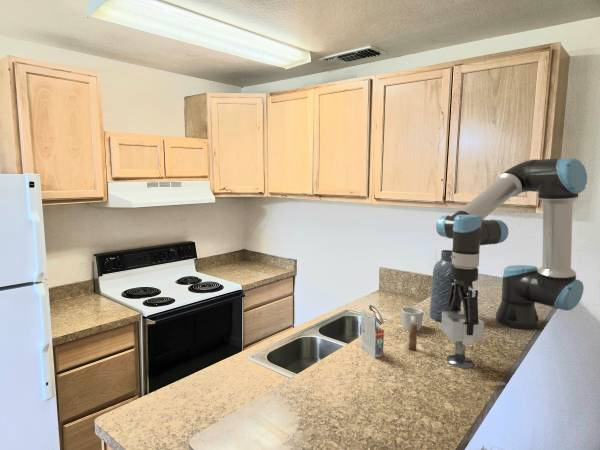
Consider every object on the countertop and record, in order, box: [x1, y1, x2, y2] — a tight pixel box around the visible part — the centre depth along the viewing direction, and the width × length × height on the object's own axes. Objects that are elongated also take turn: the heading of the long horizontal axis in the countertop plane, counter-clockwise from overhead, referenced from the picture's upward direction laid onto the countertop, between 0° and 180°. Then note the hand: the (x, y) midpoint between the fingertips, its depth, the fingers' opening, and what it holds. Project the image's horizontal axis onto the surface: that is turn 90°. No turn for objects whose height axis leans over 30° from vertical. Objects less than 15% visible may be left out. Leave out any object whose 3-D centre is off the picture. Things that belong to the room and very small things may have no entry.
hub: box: [446, 341, 474, 369], centre depth 118 cm, size 8×8×8 cm
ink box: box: [360, 309, 385, 359], centre depth 124 cm, size 4×8×15 cm, turn 26°
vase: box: [429, 249, 462, 323], centre depth 157 cm, size 12×12×28 cm
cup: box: [401, 306, 424, 332], centre depth 144 cm, size 11×8×8 cm
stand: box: [397, 323, 429, 356], centre depth 127 cm, size 8×8×10 cm
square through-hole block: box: [440, 310, 485, 342], centre depth 117 cm, size 9×9×6 cm
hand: (460, 337), depth 117 cm, fingers closed on square through-hole block, 9 cm apart
